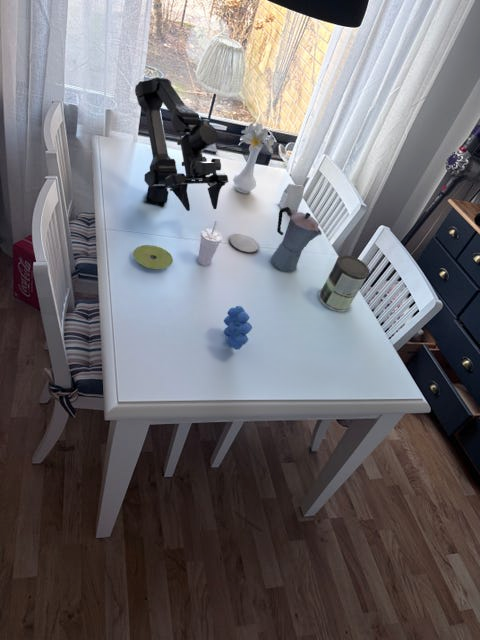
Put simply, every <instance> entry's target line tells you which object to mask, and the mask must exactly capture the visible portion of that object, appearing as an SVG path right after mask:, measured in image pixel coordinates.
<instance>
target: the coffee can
mask: <svg viewBox="0 0 480 640" xmlns="http://www.w3.org/2000/svg"><path fill="white" fill-rule="evenodd" d="M369 275H370V268H369V267H368V265H367V264H366V263H365V262H363V261H362V260H360V259H359V258H357V257H355V256H353V255H347V254H342V255H339V256H338V257H337V258H336V261H335V263H334V265H333V267H332V269H331V271H330V272H329V274H328V276H327V278H326V281H325V282H324V284H323V286H322V288H321V289H320V291H319V293H318V299H319V301H320V303H321V304H322V305H324V307H326V308H328V309H329V310H331V311H334V312H339V313H344V312H347V311H348V310H349V309H350V306H351V304H353V301H354V300H355V298H356V296H357V295H358V293H359V291H360V289H361V287H362V286H363V285H364V283H365V281H366V279H367V278H368V276H369Z"/></svg>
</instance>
